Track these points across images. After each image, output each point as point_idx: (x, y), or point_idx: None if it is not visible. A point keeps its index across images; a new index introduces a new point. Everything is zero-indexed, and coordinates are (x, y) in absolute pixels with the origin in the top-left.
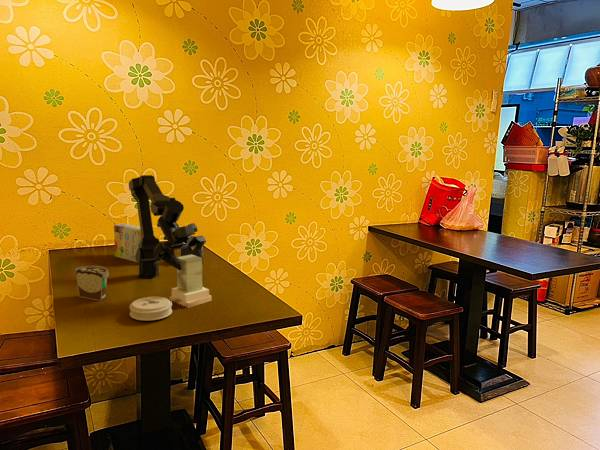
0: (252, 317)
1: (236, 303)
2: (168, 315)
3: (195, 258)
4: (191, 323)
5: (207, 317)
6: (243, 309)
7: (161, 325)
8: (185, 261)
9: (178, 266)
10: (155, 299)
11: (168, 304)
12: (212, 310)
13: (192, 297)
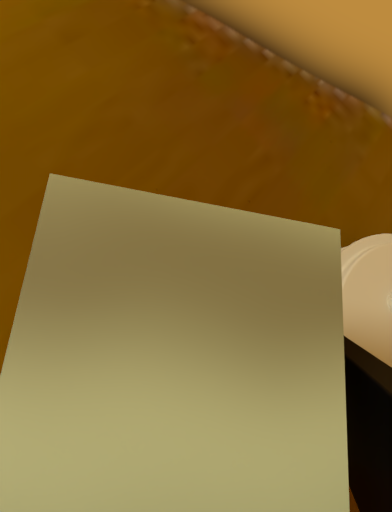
0: (106, 7)
1: (6, 136)
2: (345, 247)
3: (155, 232)
4: (303, 147)
5: (226, 137)
6: (55, 72)
7: (388, 216)
8: (335, 262)
9: (351, 346)
10: (388, 349)
11: (362, 253)
12: (158, 169)
13: None
